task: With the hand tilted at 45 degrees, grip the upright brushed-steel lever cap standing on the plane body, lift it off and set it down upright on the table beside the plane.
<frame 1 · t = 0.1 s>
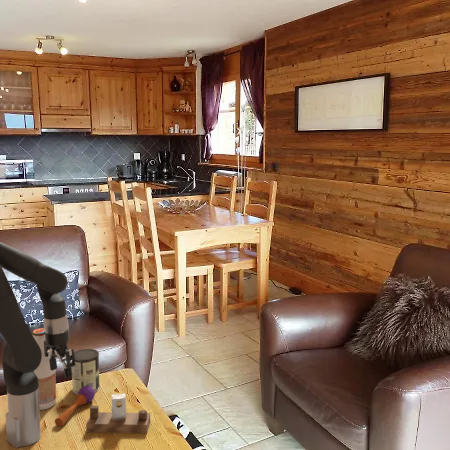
hand: (61, 373, 166), 17 cm above the table, tool pointing down, fingers open, 8 cm apart
coffee can: (85, 388, 191), on the table
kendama: (75, 412, 175), on the table
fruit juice: (42, 404, 180), on the table
lever cap: (118, 418, 166), point 3 cm above the table, touching plane body
plane body: (119, 426, 167), on the table
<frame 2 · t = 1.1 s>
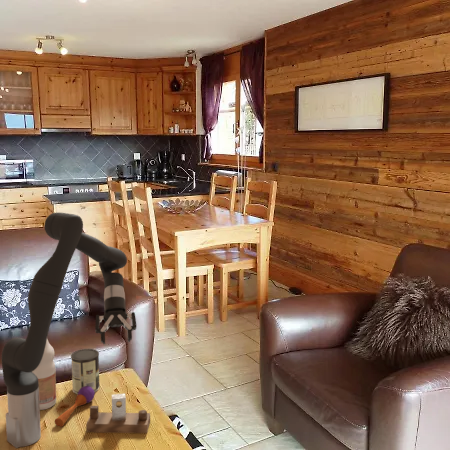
hand: (116, 342, 173), 25 cm above the table, tool tilted 45°, fingers open, 8 cm apart
nothing on the table moved.
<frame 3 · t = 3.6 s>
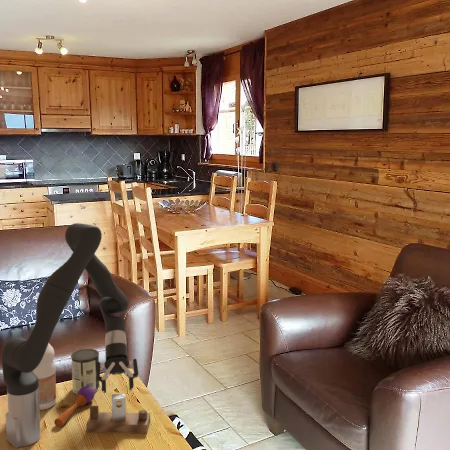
hand: (118, 391, 169), 11 cm above the table, tool tilted 45°, fingers open, 8 cm apart
nothing on the table moved.
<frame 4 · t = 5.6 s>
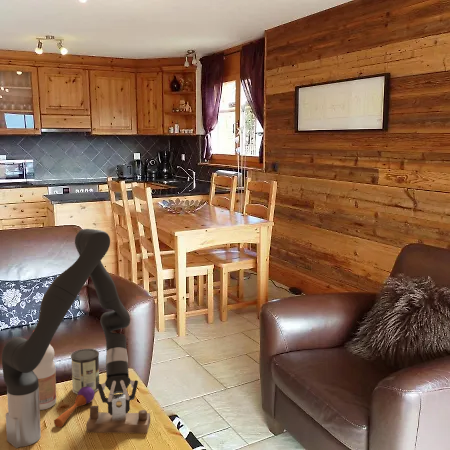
hand: (119, 413, 164), 6 cm above the table, tool tilted 45°, fingers closed on lever cap, 4 cm apart
lever cap: (118, 418, 166), point 3 cm above the table, touching gripper, plane body
everything else where it was.
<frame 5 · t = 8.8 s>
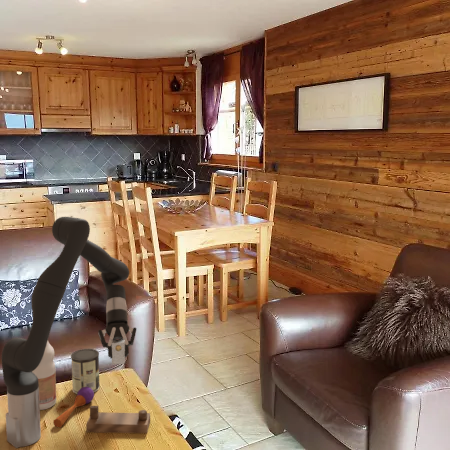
hand: (118, 356, 174), 20 cm above the table, tool tilted 45°, fingers closed on lever cap, 4 cm apart
lever cap: (118, 362, 176), point 17 cm above the table, touching gripper
everything else where it was.
when the fingers open (4 cm above the table, at t = 12.1 s): lever cap drops 2 cm, on the table.
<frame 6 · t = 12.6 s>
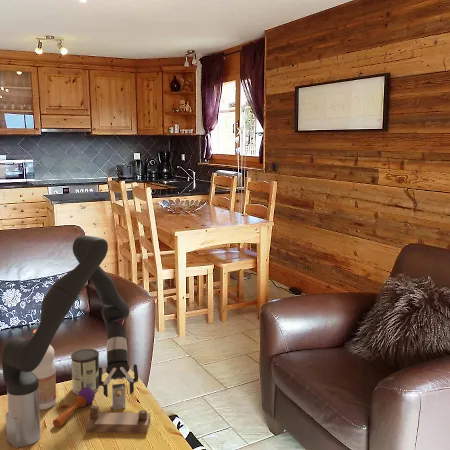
hand: (119, 395, 177), 5 cm above the table, tool tilted 45°, fingers open, 8 cm apart
lever cap: (118, 406, 179), on the table
everything else where it was.
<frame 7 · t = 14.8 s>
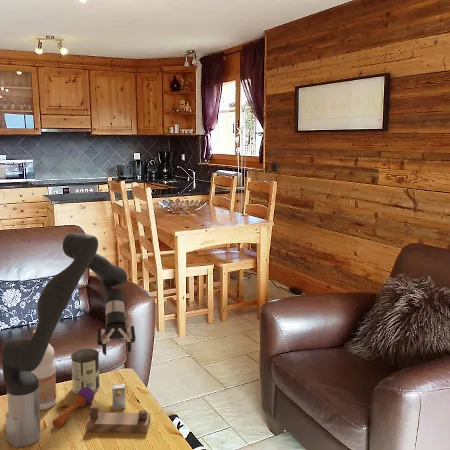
hand: (117, 353, 187), 15 cm above the table, tool tilted 45°, fingers open, 8 cm apart
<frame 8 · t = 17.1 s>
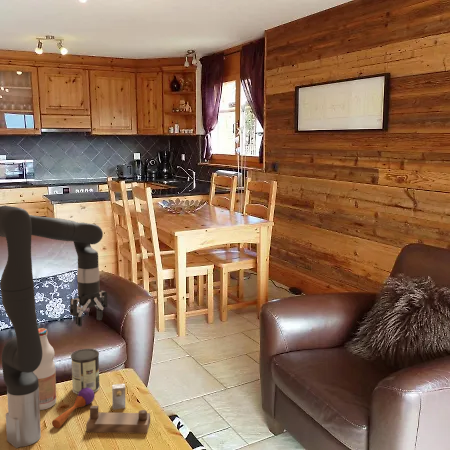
hand: (89, 322, 178), 30 cm above the table, tool pointing down, fingers open, 8 cm apart
at the end: lever cap inside the target area (0.1 cm from its centre), on the table; lever cap tilted 0°; lever cap touching table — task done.
